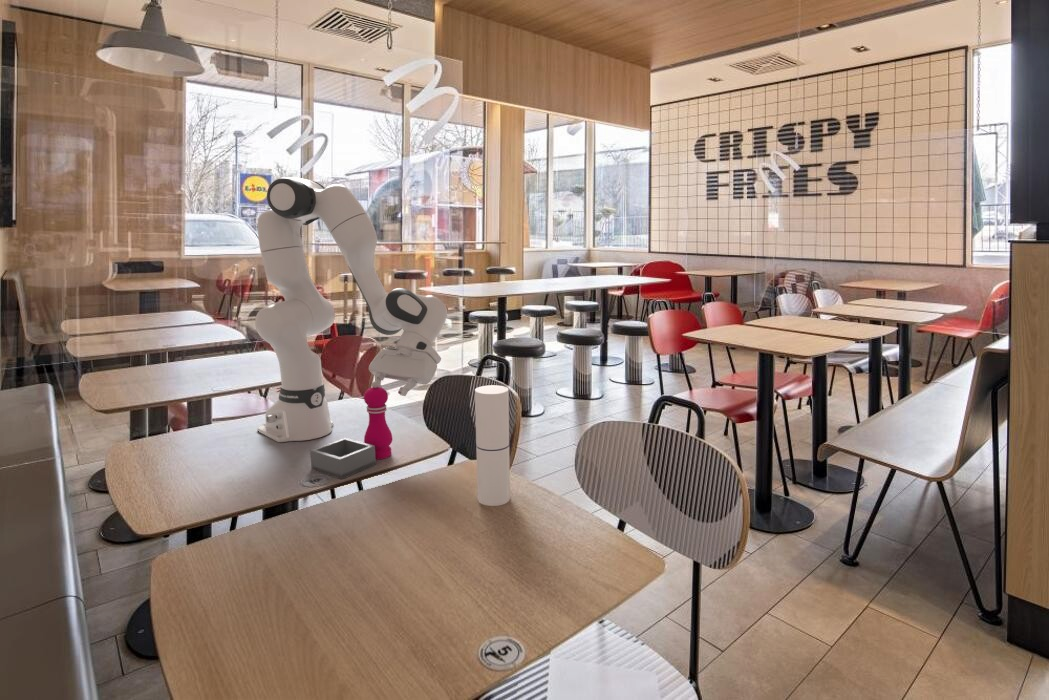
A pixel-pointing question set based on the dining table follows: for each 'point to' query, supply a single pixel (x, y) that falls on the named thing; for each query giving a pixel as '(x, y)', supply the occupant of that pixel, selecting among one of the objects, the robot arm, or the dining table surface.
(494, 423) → the cylindrical container
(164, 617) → the dining table surface
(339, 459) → the box
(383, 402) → the pepper mill
